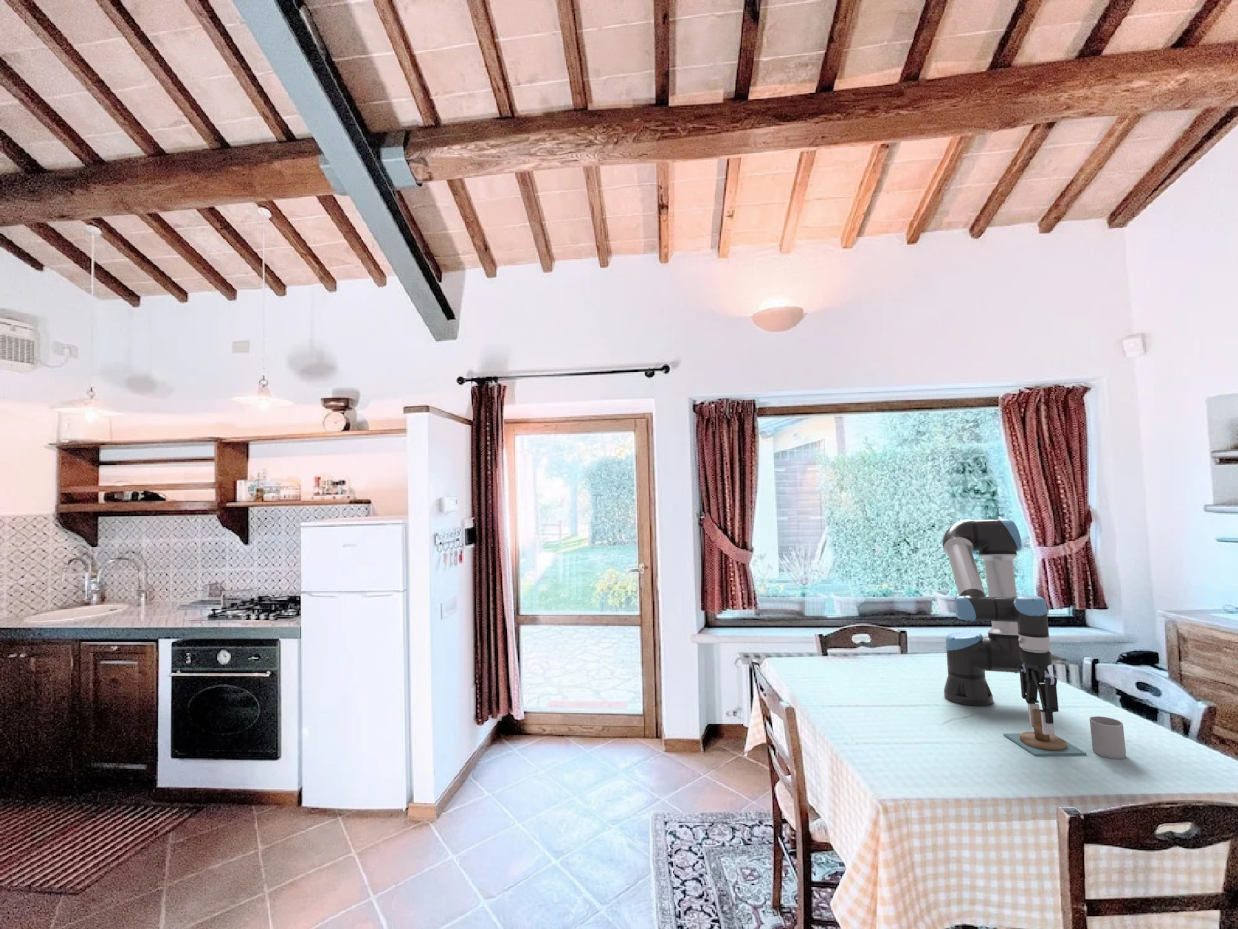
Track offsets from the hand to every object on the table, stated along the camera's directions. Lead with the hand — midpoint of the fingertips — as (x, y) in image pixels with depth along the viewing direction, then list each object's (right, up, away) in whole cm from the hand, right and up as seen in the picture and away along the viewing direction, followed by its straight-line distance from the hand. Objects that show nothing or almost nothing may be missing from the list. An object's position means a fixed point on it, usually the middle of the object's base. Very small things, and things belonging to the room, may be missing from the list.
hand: (1041, 730), depth 166 cm
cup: (+14, -4, -6) cm, 16 cm away
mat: (0, -4, 0) cm, 4 cm away
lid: (0, -4, 0) cm, 4 cm away
